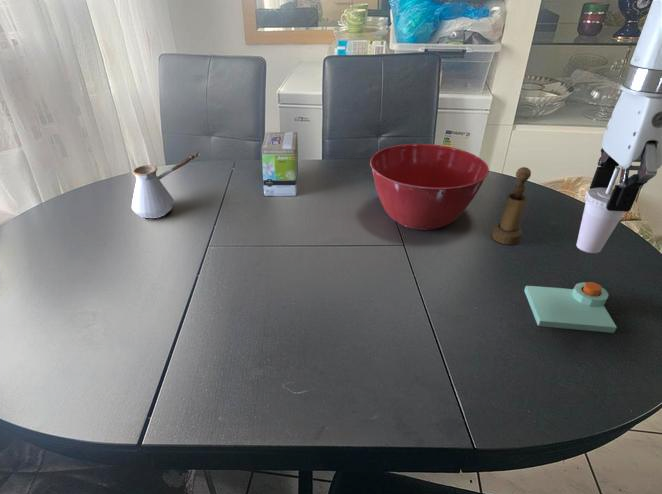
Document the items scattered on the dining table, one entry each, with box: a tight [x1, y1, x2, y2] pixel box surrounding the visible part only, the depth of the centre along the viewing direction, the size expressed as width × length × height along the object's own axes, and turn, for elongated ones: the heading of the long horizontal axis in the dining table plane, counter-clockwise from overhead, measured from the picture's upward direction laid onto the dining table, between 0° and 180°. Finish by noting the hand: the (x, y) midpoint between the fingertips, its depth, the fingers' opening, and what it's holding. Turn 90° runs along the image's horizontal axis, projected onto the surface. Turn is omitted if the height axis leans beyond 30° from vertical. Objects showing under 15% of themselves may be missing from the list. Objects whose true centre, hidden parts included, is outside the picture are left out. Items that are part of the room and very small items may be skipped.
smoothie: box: [576, 167, 625, 254], centre depth 72 cm, size 6×6×14 cm
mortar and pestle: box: [491, 166, 532, 246], centre depth 104 cm, size 7×6×18 cm
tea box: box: [261, 131, 299, 197], centre depth 134 cm, size 15×10×15 cm, turn 178°
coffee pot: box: [131, 152, 203, 218], centre depth 123 cm, size 21×12×15 cm, turn 114°
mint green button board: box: [523, 281, 618, 334], centre depth 86 cm, size 14×11×3 cm
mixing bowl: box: [369, 143, 490, 231], centre depth 114 cm, size 28×28×15 cm
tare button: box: [583, 281, 603, 296], centre depth 86 cm, size 3×3×2 cm
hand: (608, 199), depth 71 cm, fingers closed on smoothie, 6 cm apart
